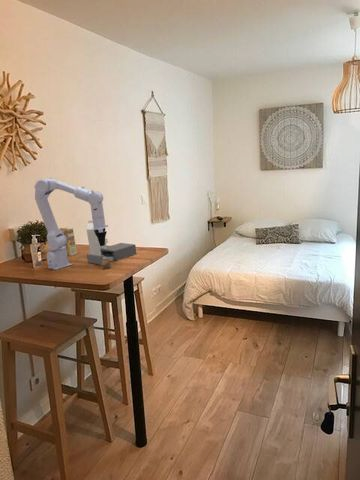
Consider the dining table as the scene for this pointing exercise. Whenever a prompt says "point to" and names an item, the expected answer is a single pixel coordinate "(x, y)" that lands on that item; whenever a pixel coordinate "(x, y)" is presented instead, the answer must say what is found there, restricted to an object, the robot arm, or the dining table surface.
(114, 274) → the dining table surface
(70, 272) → the dining table surface
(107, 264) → the brown cylinder
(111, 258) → the grey drawer
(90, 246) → the milk carton
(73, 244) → the candy box
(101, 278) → the dining table surface
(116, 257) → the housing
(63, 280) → the dining table surface
